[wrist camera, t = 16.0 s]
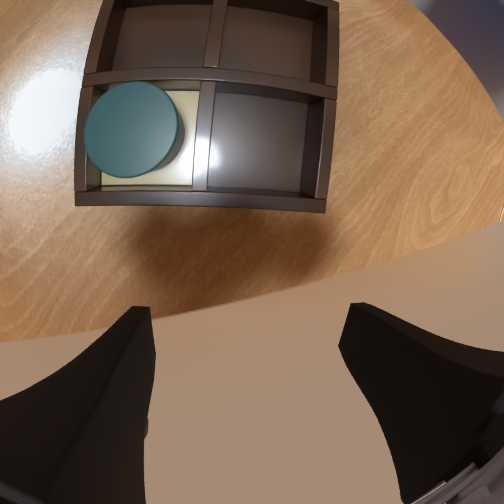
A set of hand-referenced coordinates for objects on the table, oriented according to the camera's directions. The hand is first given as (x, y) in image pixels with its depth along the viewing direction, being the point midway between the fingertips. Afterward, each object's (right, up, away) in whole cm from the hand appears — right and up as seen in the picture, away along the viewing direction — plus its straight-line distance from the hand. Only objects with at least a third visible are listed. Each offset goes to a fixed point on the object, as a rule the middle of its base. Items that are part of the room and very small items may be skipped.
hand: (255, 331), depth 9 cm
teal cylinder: (-6, +9, +5) cm, 12 cm away
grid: (-3, +13, +5) cm, 14 cm away
